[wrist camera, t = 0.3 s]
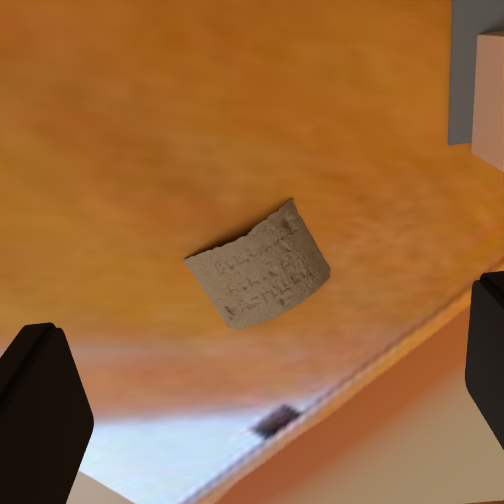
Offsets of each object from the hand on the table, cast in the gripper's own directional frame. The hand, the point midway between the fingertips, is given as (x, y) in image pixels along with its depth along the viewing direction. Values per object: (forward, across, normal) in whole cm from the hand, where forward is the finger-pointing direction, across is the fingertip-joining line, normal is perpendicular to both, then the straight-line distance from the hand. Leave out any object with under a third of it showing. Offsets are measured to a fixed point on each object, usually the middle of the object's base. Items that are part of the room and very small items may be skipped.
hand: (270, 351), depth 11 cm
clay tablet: (+36, +1, +16) cm, 39 cm away
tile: (+35, -20, +1) cm, 40 cm away
